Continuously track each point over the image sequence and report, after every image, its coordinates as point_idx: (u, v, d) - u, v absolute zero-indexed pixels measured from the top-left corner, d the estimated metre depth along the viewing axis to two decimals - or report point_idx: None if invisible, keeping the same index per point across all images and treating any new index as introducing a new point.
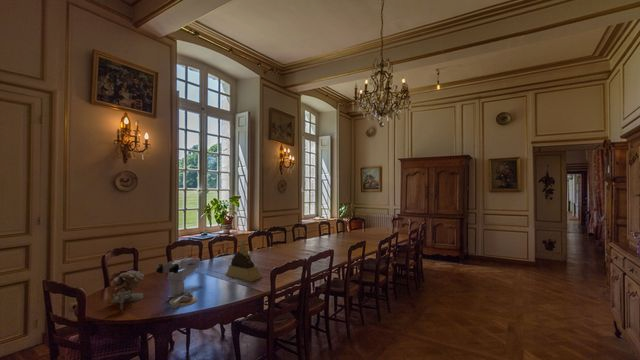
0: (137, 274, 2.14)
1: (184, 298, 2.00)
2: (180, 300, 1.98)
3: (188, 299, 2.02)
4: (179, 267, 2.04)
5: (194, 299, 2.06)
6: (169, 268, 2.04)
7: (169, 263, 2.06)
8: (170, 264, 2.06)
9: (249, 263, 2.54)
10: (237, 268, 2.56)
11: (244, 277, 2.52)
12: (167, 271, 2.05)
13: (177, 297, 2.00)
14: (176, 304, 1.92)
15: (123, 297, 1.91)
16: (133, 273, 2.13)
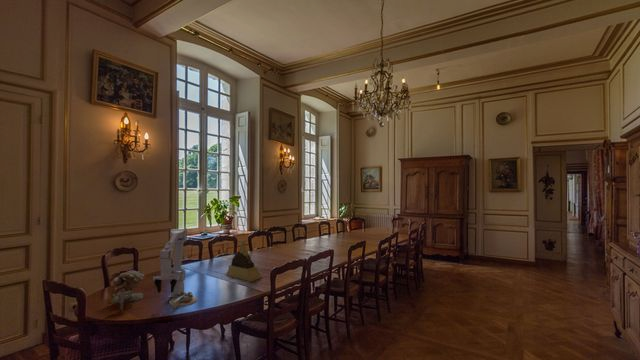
0: (137, 274, 2.14)
1: (184, 298, 2.00)
2: (180, 300, 1.98)
3: (188, 299, 2.02)
4: (176, 280, 1.95)
5: (194, 299, 2.06)
6: None
7: None
8: None
9: (249, 263, 2.54)
10: (237, 268, 2.56)
11: (244, 277, 2.52)
12: None
13: (177, 297, 2.00)
14: (176, 304, 1.92)
15: (123, 297, 1.91)
16: (133, 273, 2.13)
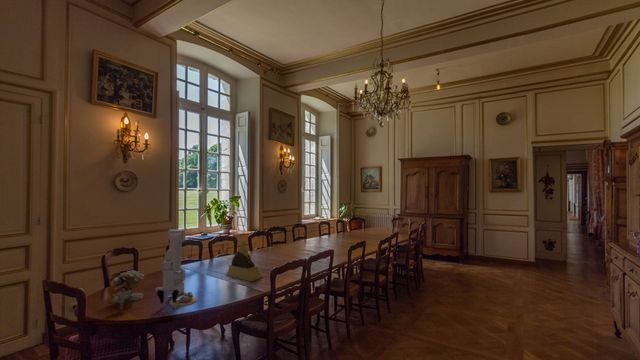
0: (137, 274, 2.15)
1: (184, 298, 2.00)
2: (180, 300, 1.98)
3: (188, 299, 2.02)
4: (178, 291, 1.95)
5: (194, 299, 2.06)
6: (168, 290, 1.96)
7: (165, 290, 1.93)
8: None
9: (249, 263, 2.54)
10: (237, 268, 2.57)
11: (244, 277, 2.52)
12: None
13: (177, 297, 2.00)
14: (176, 304, 1.92)
15: (123, 297, 1.91)
16: (133, 273, 2.13)
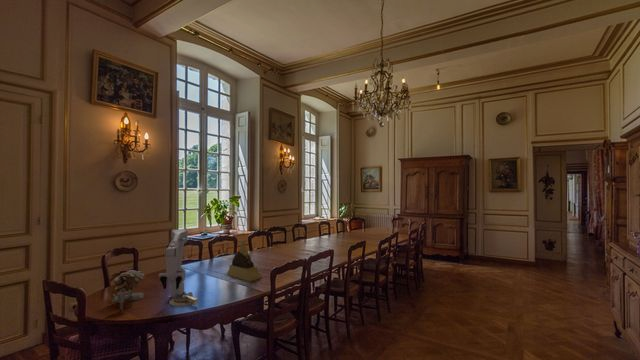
0: (137, 274, 2.15)
1: (191, 296, 2.04)
2: None
3: (192, 296, 2.06)
4: (181, 277, 2.00)
5: None
6: (172, 276, 2.01)
7: None
8: None
9: (249, 263, 2.54)
10: (237, 268, 2.57)
11: (243, 277, 2.52)
12: None
13: (184, 297, 2.00)
14: None
15: (123, 297, 1.91)
16: (134, 273, 2.14)
